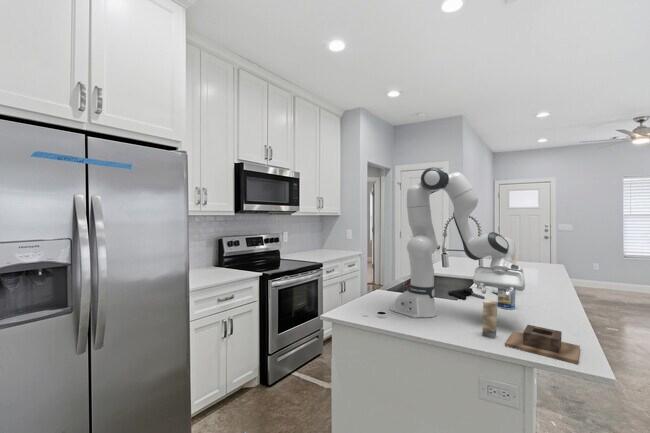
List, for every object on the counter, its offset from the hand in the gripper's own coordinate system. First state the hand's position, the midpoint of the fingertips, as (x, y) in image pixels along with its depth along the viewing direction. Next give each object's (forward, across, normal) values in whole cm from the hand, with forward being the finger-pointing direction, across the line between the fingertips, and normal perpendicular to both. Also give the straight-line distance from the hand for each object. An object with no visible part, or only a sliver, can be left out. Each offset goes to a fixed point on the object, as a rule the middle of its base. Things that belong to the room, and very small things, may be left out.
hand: (495, 294), depth 139 cm
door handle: (-24, -25, +46) cm, 57 cm away
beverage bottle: (-17, -3, +39) cm, 43 cm away
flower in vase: (-38, -10, +60) cm, 72 cm away
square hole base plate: (+16, +18, +6) cm, 25 cm away
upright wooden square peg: (+17, 0, +5) cm, 17 cm away
